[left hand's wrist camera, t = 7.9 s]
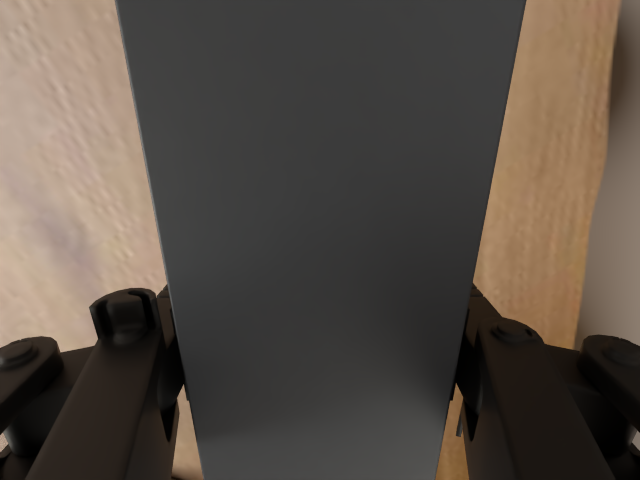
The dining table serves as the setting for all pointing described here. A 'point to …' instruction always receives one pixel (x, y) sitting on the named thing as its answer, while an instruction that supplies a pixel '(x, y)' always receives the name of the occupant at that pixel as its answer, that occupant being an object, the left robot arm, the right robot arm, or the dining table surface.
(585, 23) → the dining table surface
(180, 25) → the bar
